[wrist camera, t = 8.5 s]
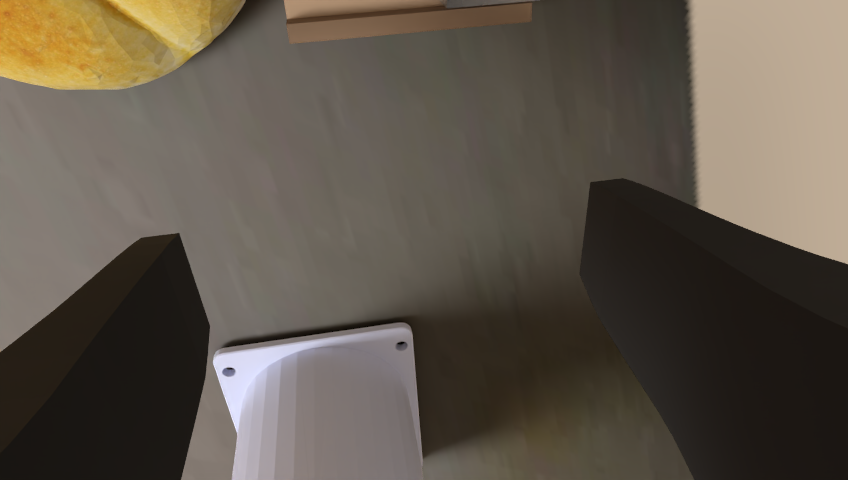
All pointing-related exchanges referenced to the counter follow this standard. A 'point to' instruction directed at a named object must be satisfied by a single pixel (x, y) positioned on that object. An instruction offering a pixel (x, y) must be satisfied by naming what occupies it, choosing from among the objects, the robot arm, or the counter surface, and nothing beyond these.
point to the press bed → (390, 17)
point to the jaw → (476, 2)
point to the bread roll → (105, 39)
